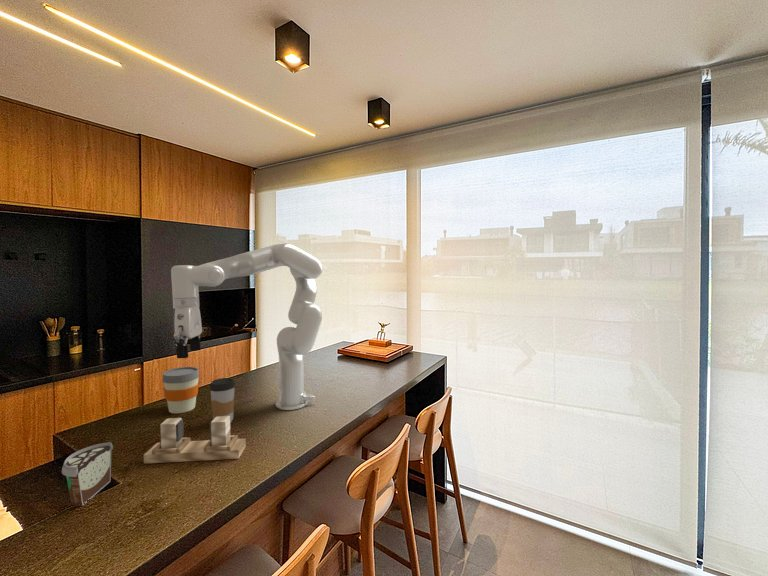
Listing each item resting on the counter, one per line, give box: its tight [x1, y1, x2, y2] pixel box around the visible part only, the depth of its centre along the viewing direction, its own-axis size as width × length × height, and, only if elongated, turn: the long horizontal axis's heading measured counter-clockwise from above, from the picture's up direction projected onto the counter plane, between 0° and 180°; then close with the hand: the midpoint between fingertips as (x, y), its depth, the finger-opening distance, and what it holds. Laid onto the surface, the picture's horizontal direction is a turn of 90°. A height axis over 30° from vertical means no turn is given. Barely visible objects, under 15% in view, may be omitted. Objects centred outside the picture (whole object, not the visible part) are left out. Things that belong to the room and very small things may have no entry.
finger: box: [160, 417, 185, 449], centre depth 102 cm, size 5×4×8 cm
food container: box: [61, 441, 114, 507], centre depth 85 cm, size 12×6×10 cm, turn 5°
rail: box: [143, 416, 247, 465], centre depth 103 cm, size 26×7×10 cm, turn 96°
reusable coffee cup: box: [162, 366, 200, 414], centre depth 137 cm, size 13×13×15 cm
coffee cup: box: [209, 377, 236, 424], centre depth 125 cm, size 8×8×15 cm
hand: (189, 354), depth 115 cm, fingers open, 9 cm apart
